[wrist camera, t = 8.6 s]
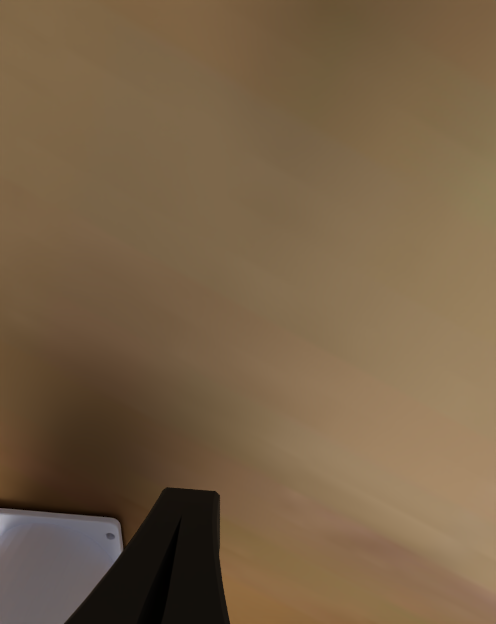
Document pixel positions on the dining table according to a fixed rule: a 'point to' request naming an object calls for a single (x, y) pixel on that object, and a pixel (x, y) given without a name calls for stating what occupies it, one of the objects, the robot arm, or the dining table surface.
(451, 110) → the dining table surface
